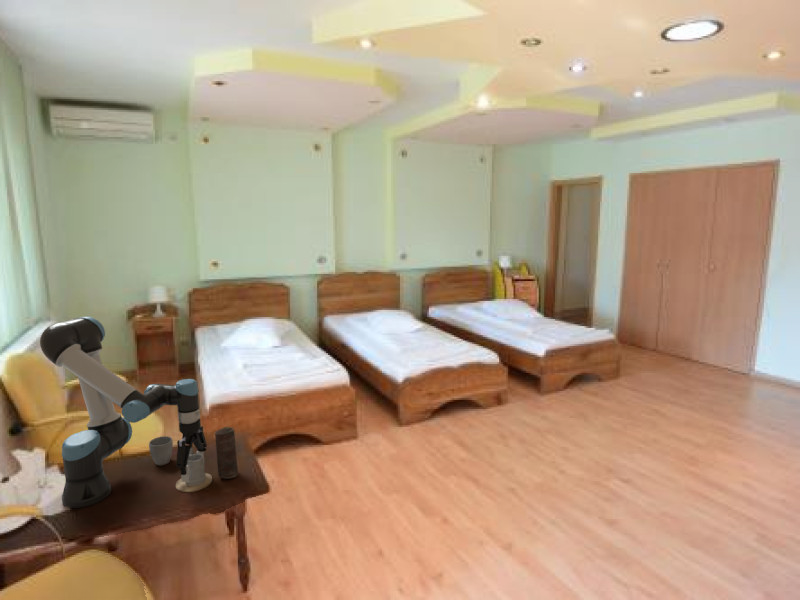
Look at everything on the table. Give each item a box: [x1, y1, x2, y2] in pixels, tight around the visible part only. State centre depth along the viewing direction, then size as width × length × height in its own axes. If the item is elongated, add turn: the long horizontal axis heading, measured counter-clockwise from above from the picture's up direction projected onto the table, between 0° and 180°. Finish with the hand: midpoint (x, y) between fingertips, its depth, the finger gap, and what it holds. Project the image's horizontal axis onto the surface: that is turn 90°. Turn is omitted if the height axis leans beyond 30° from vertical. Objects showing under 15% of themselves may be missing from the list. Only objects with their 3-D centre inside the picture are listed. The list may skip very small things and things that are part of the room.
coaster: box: [175, 472, 213, 493], centre depth 186 cm, size 13×13×1 cm
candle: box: [214, 426, 239, 479], centre depth 189 cm, size 8×7×20 cm
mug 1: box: [148, 435, 174, 466], centre depth 202 cm, size 12×9×10 cm
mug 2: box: [185, 447, 206, 486], centre depth 186 cm, size 8×12×12 cm, turn 36°
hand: (193, 474), depth 185 cm, fingers open, 10 cm apart
